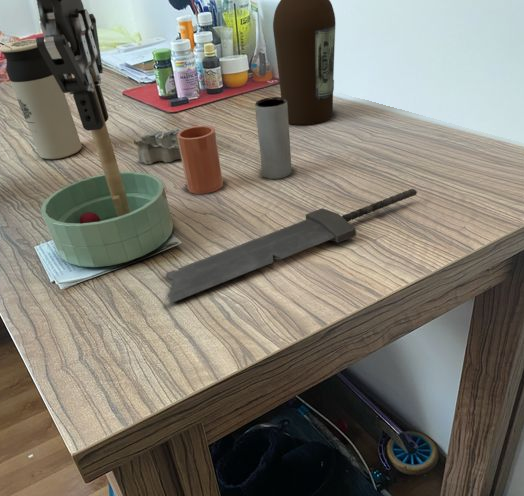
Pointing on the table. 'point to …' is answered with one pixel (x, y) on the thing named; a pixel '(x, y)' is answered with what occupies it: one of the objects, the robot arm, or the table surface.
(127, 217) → the bowl
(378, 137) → the table surface
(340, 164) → the table surface
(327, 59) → the olive oil
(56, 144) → the travel mug
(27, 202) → the table surface
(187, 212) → the table surface
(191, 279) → the toy broadsword
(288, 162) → the grey tube
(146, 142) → the egg carton
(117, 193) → the wooden stick
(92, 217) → the bead
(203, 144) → the utensil pot
